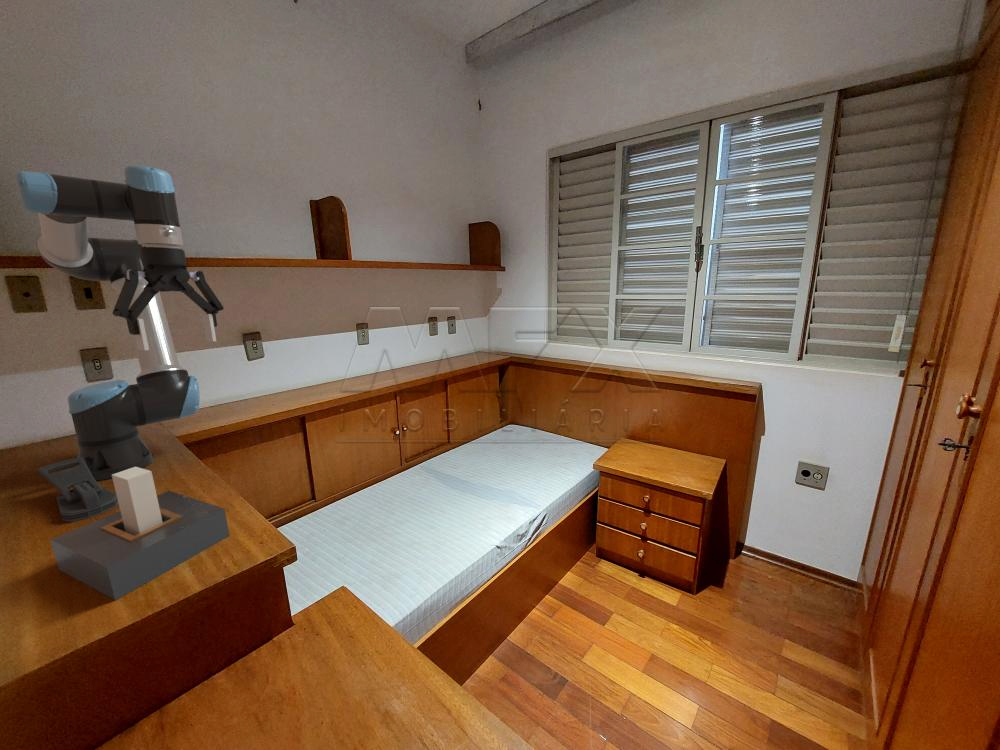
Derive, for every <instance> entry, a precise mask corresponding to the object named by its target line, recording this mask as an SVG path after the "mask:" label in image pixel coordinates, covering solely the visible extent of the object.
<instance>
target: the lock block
mask: <svg viewBox="0 0 1000 750" xmlns="http://www.w3.org/2000/svg"><path fill="white" fill-rule="evenodd" d="M157 499H158V504H159V508H160V513H161V517H162V522H163V523H161V524H158V525H156V526H154V527H152V528H150V529H148V530H146V531H143V532H141V533H139V534H137V535H135V536H134V535H131V534H129V533H127V532H125V528H124V524H123V520H122V515H121V511H120V510H119V511H117V512H114V513H112V514H109V515H107V516H105V517H102V518H99V519H97V520H95V521H92V522H90V523H87V524H85V525H82V526H79V527H78V528H76V529H73V530H70V531H68V532H66V533H65V532H64V533H62V534H60V535H58V536H56V537H54V538H50V544H51V546H52V550H53V553H54V557H55V561H56V565H57V567H58V570H59V571H60V572H62V573H64V574H65V575H68V576H70V577H71V578H73V579H75V580H77V581H79V582H81V583H82V584H84V585H86V586H88V587H90V588H92V589H94V590H96V591H97V592H99V593H101V594H103V595H105V596H107V597H108V598H110V599H111V600H114V601H117V600H119V599H120V598H122V597H124V596H126V595H128V594H129V593H131V592H133V591H135V590H137V589H138V588H140V587H141V586H144V585H145V584H147V583H150V582H151V581H152V580H154V579H156V578H158V577H160V576H161V575H162V574H165V573H166V572H168V571H170V570H171V569H173V568H175V567H177V566H179V565H181V564H183V563H184V562H186V561H187V560H189V559H191V558H193V557H195V556H196V555H198V554H199V553H201V552H204V551H205V550H208V549H209V548H210V547H212V546H214V545H215V544H217V543H219V542H221V541H222V540H225V539H226V538H228V537H230V531H229V525H228V520H227V514H226V508H224V507H220V506H218V505H216V504H215V505H214V504H212V503H208V502H205V501H202V500H200V499H196V498H193V497H190V496H187V495H183V494H181V493H178V492H174V491H172V490H171V491H170V490H168V491H166V492H163V493H161V494H158V495H157Z"/></svg>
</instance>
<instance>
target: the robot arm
mask: <svg viewBox="0 0 1000 750" xmlns="http://www.w3.org/2000/svg"><path fill="white" fill-rule="evenodd" d="M124 177H125V180H124V182H125V183H120V182H112V181H106V180H98V179H97V180H96V179H90V178H89V179H88V178H83V177H75V176H68V175H60V174H54V173H49V172H45V171H43V172H42V171H41V172H39V171H26V170H20V171H18V172H17V173H16V174H15V178H16V181H17V187H18V190H19V194H20V198H21V202H22V206H23V208H24V209H25V210H27V212H31V213H37V214H38V221H39V225H40V231H41V235H40V236H39V238H38V240H37V248H38V252H39V255H40V256H41V258H42V259H43V260H44V261H45V262H46V263H47V264H48V265H49V266H50V267H52V268H53V269H56V270H57V271H59V272H61V273H63V274H65V275H68V276H70V277H74V278H76V279H81V280H84V281H85V280H86V281H94V282H96V281H97V282H110V286H111V288H112V289H113V290H115V291H117V292H119V295H118V297H117V300H116V303H115V305H114V308H113V310H112V315H113V316H114V317H119V318H124V319H125V320H126V323H127V330H128V332H129V334H130V335H131V336H132V341H133V345H134V348H135V352H136V356H137V359H138V363H139V367H140V370H141V371H140V373H139V374H138V375H137V376H136V377H135V379H136V383H134V384H129V382H128V381H126V380H124V379H119V380H114V381H113V380H112V381H111V380H110V381H109V380H108V381H105V382H99V383H95V384H91V385H88V386H85V387H82V388H79V389H76V390H74V391H72V393H70V394H68V395H69V396H68V397H67V402H68V409H69V410H68V413H69V414H70V415H71V418H72V423H73V427H74V432H75V436H76V440H77V444H78V447H79V448H78V453H77V457H76V458H80V457H82V458H83V459H84V461H85V462H86V465H87V467H88V469H89V470H90V472H91V474H92V476H93V478H94V479H95V480H96V481H102V480H109V479H113V478H112V474H115V473H118V472H121V471H124V470H127V469H130V468H133V467H139V468H142V469H145V468H146V467H147V466H149V465H150V464H151V463H152V462H153V461H154V459H153V456H152V452H151V450H150V449H149V447H148V446H147V444H146V443H145V442H144V441H143V440H142V437H140V434H139V431H138V427H142V426H147V425H151V424H156V423H163V422H165V421H173V420H177V419H178V420H181V419H182V418H186V417H189V416H193V415H195V414H196V413H197V412H198V410H199V407H200V387H199V381H198V379H197V377H196V376H194V375H189V372H188V370H187V369H186V368H184V367H182V366H180V364H179V360H178V356H177V352H176V349H175V345H174V340H173V337H172V334H171V329H170V326H169V322H168V319H167V315H166V311H165V308H164V304H163V300H162V297H161V292H165V293H166V292H181V293H183V294H184V295H185V296H187V297H188V298H189V299H190V300H191V301H193V303H194V304H196V305H197V306H198V307H199V308H201V310H202V311H203V312H204V313H201V318H202V322H203V329H204V335H205V339H206V340H205V341H206V342H212V343H213V342H214V343H215V342H217V336H216V331H215V328H216V327H217V326H218V321H217V314H218V313H219V312H220V311H223V310H224V306H223V304H222V303H221V301H220V300H219V298H218V296H216V294H215V292H214V291H213V290H212V288H211V287H210V285H209V284H208V283H207V281H206V278H205V275H204V272H203V270H193V271H191V272H189V271H188V268H187V265H188V264H187V259H186V253H185V250H184V249H183V248H181V247H183V246H184V241H183V235H182V230H181V226H180V218H179V212H178V206H177V200H176V189H175V187H174V183H173V179H172V176H171V174H170V173H169V172H167V171H166V170H163V169H159V168H156V167H149V166H144V165H130V166H129V165H128V166H126V167H125V168H124ZM89 218H93V219H95V218H96V219H107V220H108V219H110V220H118V221H119V220H120V221H133V223H134V228H135V230H134V231H135V235H136V239H120V238H119V239H117V238H102V237H101V238H99V237H89ZM97 260H98V262H97ZM98 265H99V267H98ZM189 280H192V281H193V282H194V284H195V285H196V287H197V289H198V290H199V291H200V293H201V294H202V295H203V296H201V295H200V293H198V292H197V291H196V289H195V288H194V287H193V286H192V285H191V284H190V283H189ZM76 466H79V465H75V467H76Z"/></svg>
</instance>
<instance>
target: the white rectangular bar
mask: <svg viewBox="0 0 1000 750" xmlns="http://www.w3.org/2000/svg"><path fill="white" fill-rule="evenodd" d="M153 476H154V475H153V473H152V470H149V469H146V468H139V467H133V468H130V469H127V470H124V471H121V472H118V473H115V474H112V478H111V479H112V482H113V485H114V486H113V487H114V490H115V493H116V495H117V499H118V507H119V511H121V515H122V520H123V524H124V528H125V532H127V533H129V534H131V535H134V536H135V535H137V534H139V533H141V532H143V531H146V530H148V529H150V528H152V527H154V526H156V525H158V524H161V523H163V522H162V517H161V513H160V508H159V504H158V499H157V496H158V495H157V491H156V486H155V480H154V477H153Z"/></svg>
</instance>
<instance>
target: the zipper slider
mask: <svg viewBox="0 0 1000 750" xmlns="http://www.w3.org/2000/svg"><path fill="white" fill-rule="evenodd" d="M76 465H79V466H76ZM72 466H73V467H72ZM69 467H70V468H69ZM60 469H63V470H60ZM56 470H57V471H56ZM37 473H38V474H39V475H41V477H43V478H44V479H45V480H47V481H48V483H49V484H51V485H52V486H53V487H54V488H55V489H57V490H58V491H59V493H60V494H59V495H57V496H55V497H56V502H57V504H58V508H59V513H60V517H61V520H62V522H68V523H77V522H80V521H83V520H88V519H91V518H94V517H98V516H99V515H103V514H105V513H107V512H110V511H112V510H113V509H116V508H117V507H118V506H119V503H118V499H117V495H116V492H113V491H111V490H109V489H106V488H105V487H103V486H101V485H100V484H99V482H97V480H95V479H94V478H93V476H92V474H91V472H90V470H89V469H88V467H87V465H86V462H85V461H84V459H83V458H82V457H80V458H77V457H75V458H70V459H65V460H62V461H57V462H53V463H50V464H47V465H44V466H41V467H38V468H37ZM71 488H72V489H71ZM69 489H70V490H69Z"/></svg>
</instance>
